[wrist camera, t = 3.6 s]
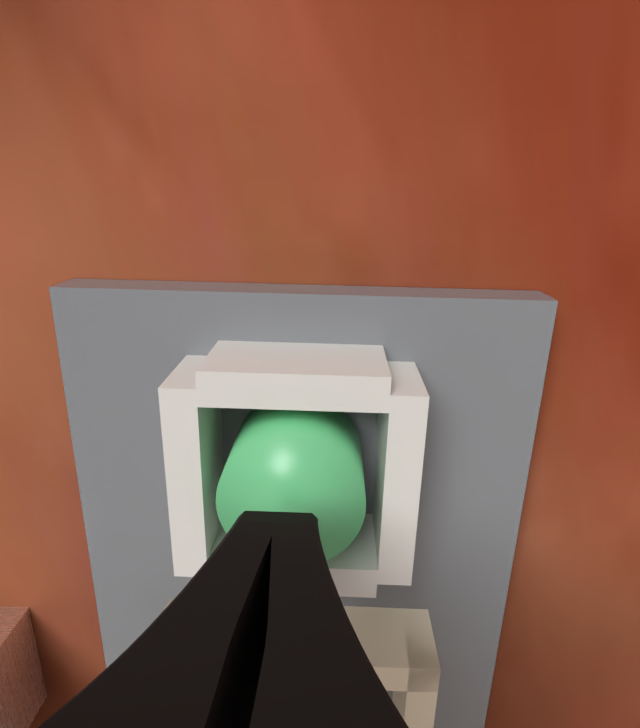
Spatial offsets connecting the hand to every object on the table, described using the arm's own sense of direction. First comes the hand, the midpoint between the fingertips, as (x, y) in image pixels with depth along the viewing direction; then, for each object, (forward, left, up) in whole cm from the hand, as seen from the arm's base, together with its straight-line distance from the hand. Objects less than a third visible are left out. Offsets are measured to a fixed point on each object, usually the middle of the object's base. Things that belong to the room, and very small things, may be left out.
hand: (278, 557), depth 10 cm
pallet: (0, -5, -6) cm, 7 cm away
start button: (0, 0, -4) cm, 4 cm away
